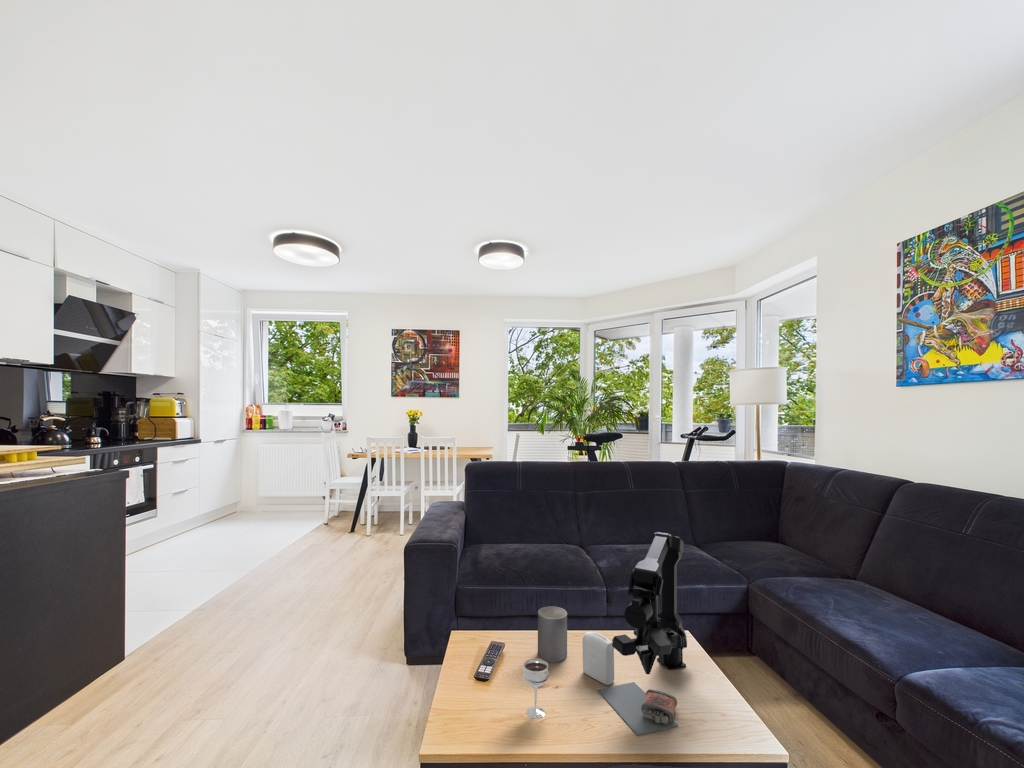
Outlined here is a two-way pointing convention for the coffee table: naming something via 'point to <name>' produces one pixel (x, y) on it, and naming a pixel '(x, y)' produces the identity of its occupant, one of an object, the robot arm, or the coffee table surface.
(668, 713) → the lighter
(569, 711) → the coffee table surface
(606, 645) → the photo printer
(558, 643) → the pillar candle
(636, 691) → the rubber mat
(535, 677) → the wineglass
